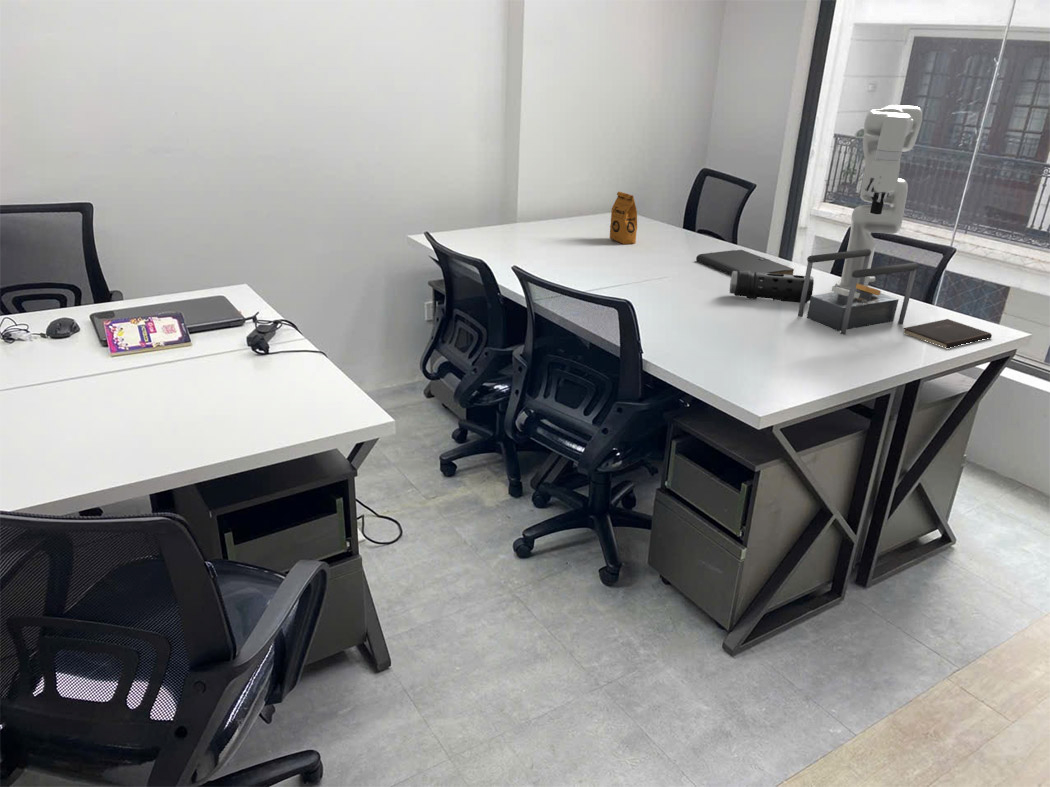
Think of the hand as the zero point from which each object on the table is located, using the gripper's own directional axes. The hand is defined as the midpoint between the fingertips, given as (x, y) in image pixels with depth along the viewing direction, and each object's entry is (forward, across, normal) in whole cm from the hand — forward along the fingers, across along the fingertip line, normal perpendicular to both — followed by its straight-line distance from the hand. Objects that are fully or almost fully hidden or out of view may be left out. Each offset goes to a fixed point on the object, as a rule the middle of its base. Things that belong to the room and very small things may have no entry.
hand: (875, 213), depth 255 cm
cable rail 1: (+35, +6, -6) cm, 36 cm away
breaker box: (+35, +6, +4) cm, 36 cm away
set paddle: (+25, +11, +4) cm, 27 cm away
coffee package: (+35, +19, -118) cm, 125 cm away
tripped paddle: (+25, +1, +4) cm, 25 cm away
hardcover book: (+36, -12, +28) cm, 47 cm away
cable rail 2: (+35, +6, +14) cm, 38 cm away
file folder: (+36, -4, -61) cm, 71 cm away
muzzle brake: (+36, +17, -24) cm, 46 cm away
